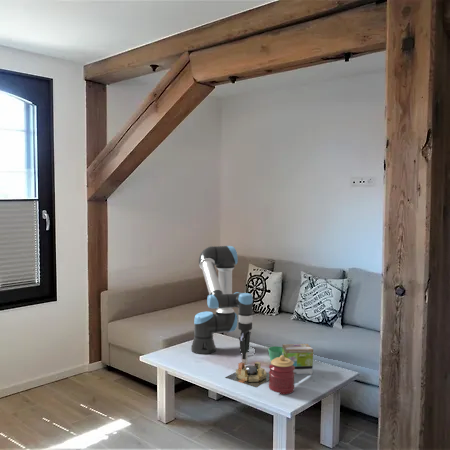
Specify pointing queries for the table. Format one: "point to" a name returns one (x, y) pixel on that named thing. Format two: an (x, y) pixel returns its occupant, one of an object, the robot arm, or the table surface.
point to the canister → (281, 375)
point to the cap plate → (255, 384)
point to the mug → (275, 352)
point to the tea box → (299, 357)
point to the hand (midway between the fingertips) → (244, 364)
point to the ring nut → (243, 375)
